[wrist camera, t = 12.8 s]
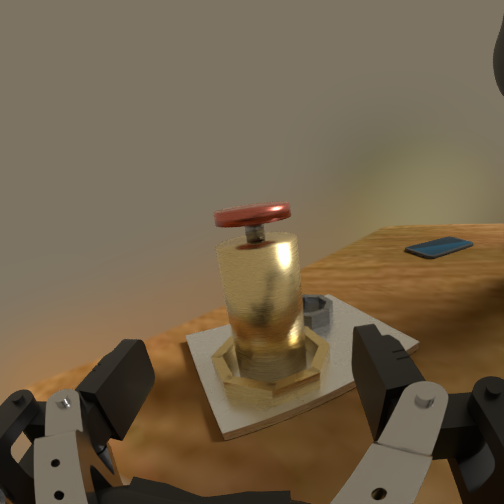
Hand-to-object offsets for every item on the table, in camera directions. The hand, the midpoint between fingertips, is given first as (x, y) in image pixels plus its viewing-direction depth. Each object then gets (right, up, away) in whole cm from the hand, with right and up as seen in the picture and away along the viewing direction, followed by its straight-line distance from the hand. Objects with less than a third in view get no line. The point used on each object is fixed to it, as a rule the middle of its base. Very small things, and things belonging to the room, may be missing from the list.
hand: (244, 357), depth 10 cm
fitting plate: (+4, -5, +14) cm, 15 cm away
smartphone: (+36, +4, +35) cm, 51 cm away
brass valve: (+2, -5, +11) cm, 12 cm away
